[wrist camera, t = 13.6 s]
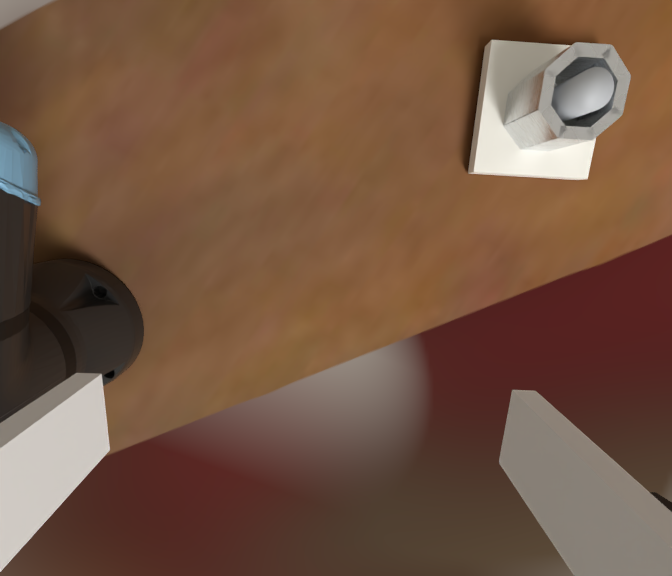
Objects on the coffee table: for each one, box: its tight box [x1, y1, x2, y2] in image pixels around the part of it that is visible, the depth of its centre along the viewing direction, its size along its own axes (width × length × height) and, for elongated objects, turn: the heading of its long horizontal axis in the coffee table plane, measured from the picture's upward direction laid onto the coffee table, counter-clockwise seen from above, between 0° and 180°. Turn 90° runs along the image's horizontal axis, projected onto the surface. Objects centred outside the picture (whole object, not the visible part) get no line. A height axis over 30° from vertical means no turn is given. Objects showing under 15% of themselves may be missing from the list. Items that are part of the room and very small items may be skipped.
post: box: [468, 40, 614, 180], centre depth 32 cm, size 12×12×8 cm
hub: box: [503, 42, 631, 151], centre depth 32 cm, size 7×7×6 cm
